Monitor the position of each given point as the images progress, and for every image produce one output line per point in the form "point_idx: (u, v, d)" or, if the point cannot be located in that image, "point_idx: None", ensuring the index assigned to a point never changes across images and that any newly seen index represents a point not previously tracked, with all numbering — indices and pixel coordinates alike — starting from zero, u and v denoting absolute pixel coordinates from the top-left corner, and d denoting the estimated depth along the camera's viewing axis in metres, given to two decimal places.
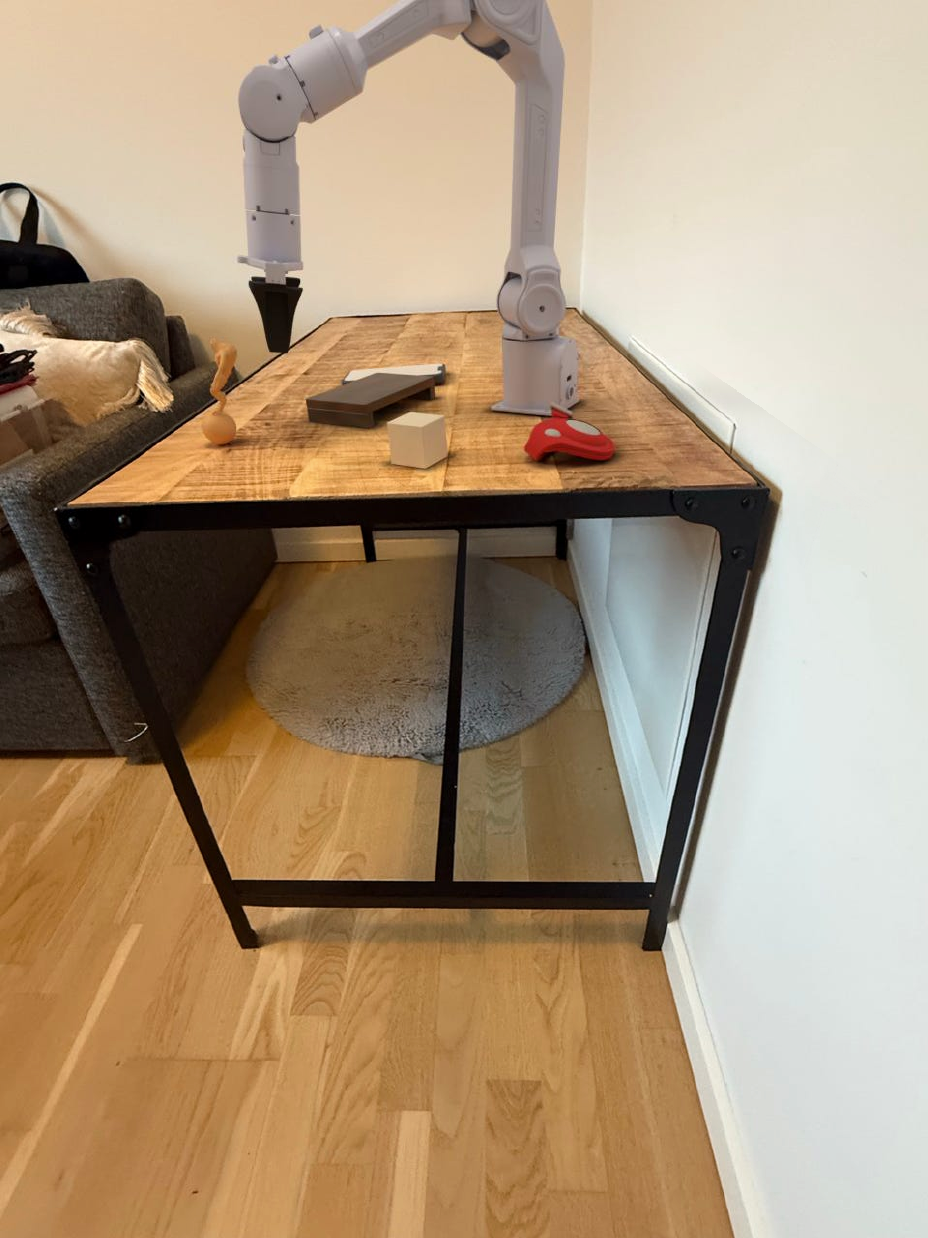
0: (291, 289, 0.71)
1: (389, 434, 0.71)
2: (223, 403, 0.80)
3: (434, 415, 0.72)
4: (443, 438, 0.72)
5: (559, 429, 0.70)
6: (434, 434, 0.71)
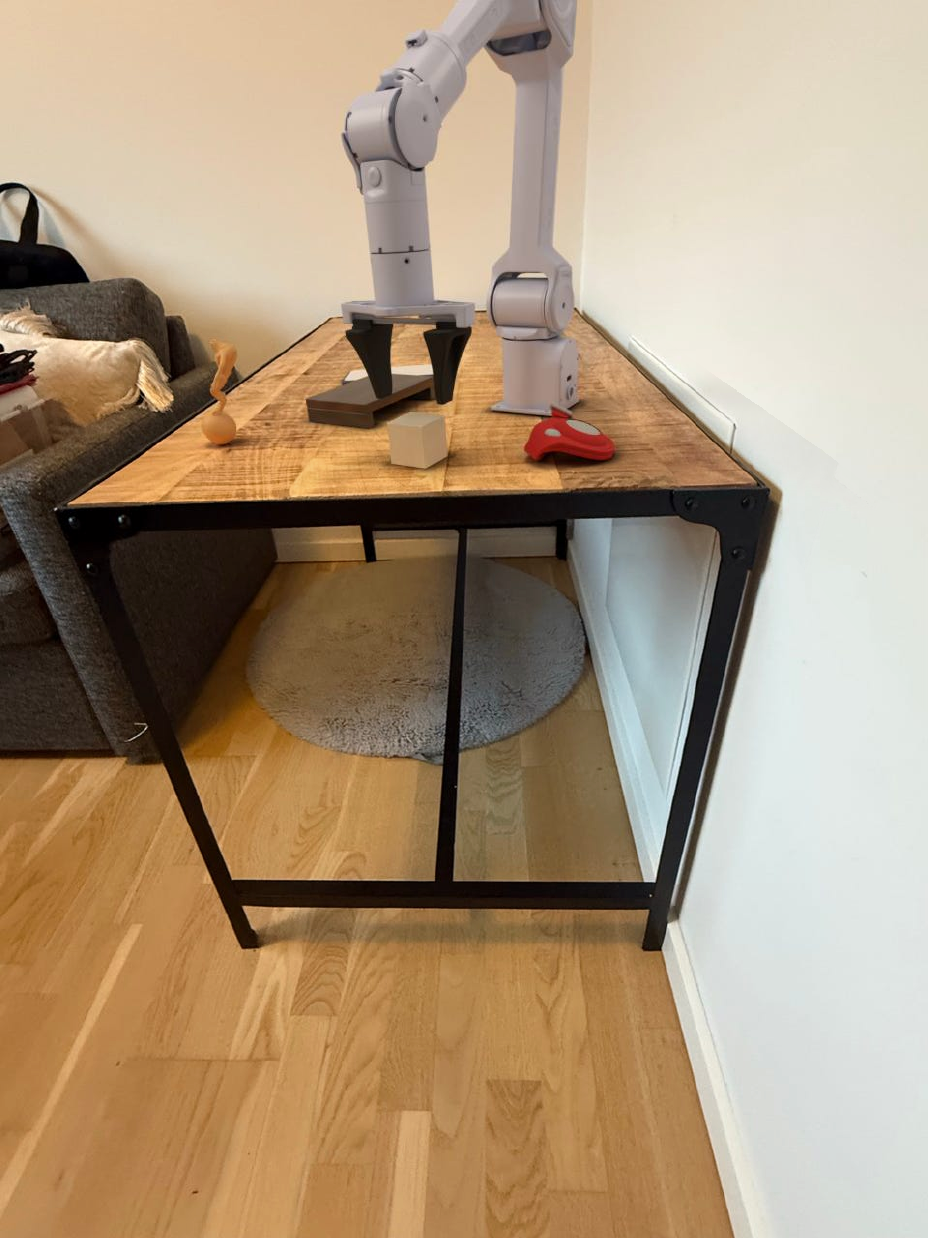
0: (469, 328, 0.65)
1: (389, 434, 0.71)
2: (223, 403, 0.80)
3: (434, 415, 0.72)
4: (443, 438, 0.72)
5: (559, 429, 0.70)
6: (434, 434, 0.71)
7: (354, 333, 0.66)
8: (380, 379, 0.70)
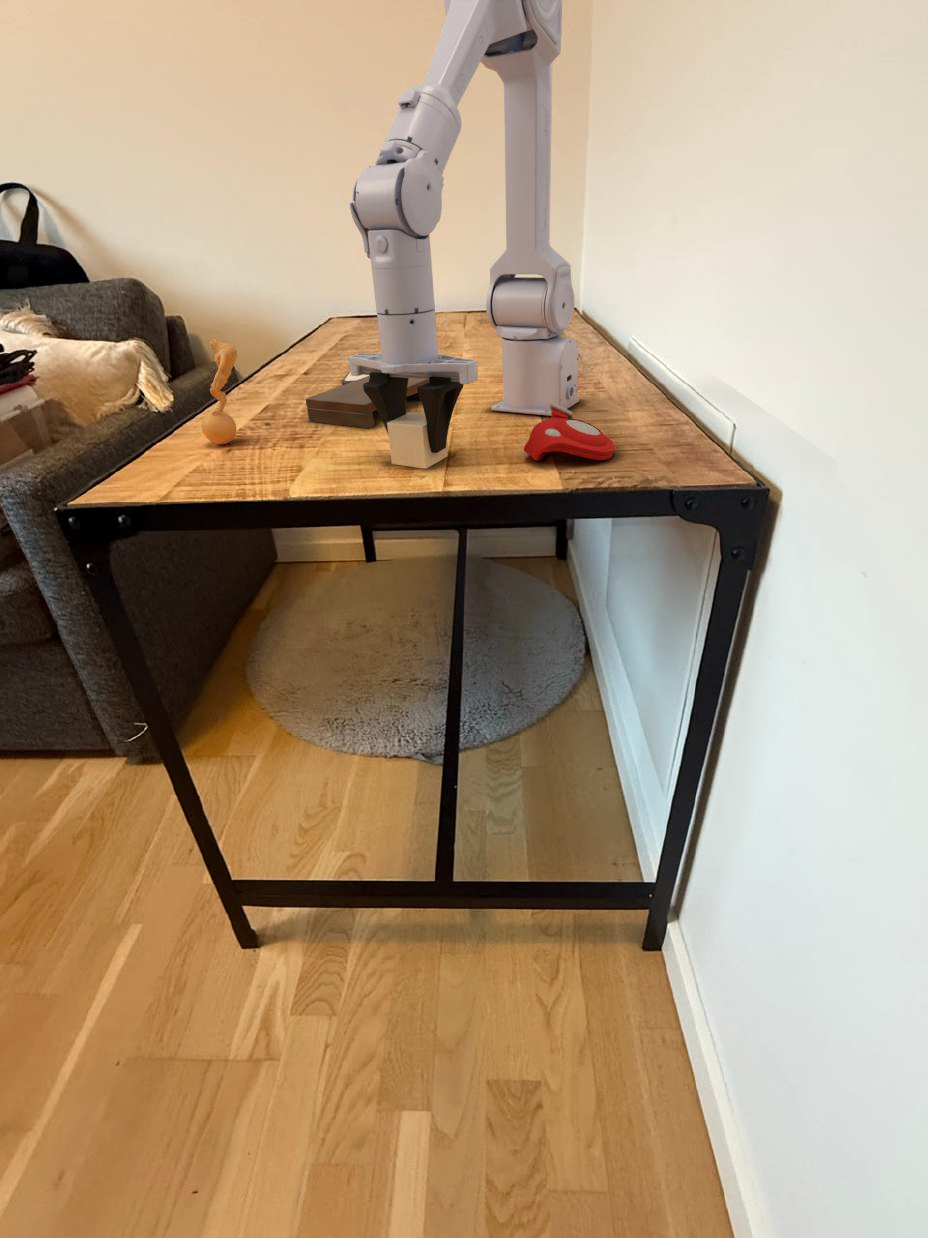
0: None
1: (389, 434, 0.71)
2: (223, 403, 0.80)
3: None
4: None
5: (559, 429, 0.70)
6: None
7: (372, 387, 0.69)
8: None
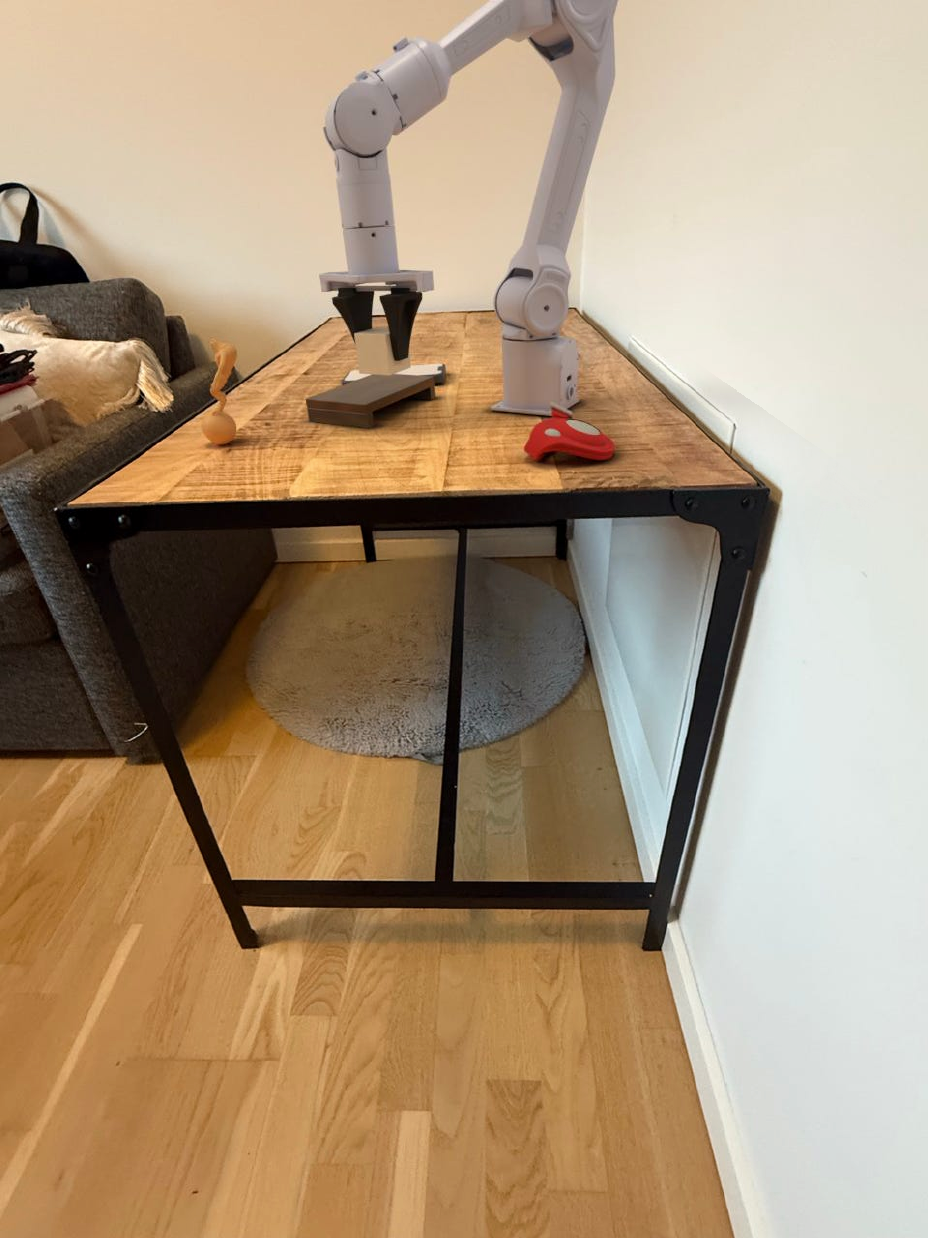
0: (419, 294, 0.76)
1: (356, 344, 0.78)
2: (223, 403, 0.80)
3: None
4: None
5: (559, 429, 0.70)
6: None
7: (339, 299, 0.76)
8: None
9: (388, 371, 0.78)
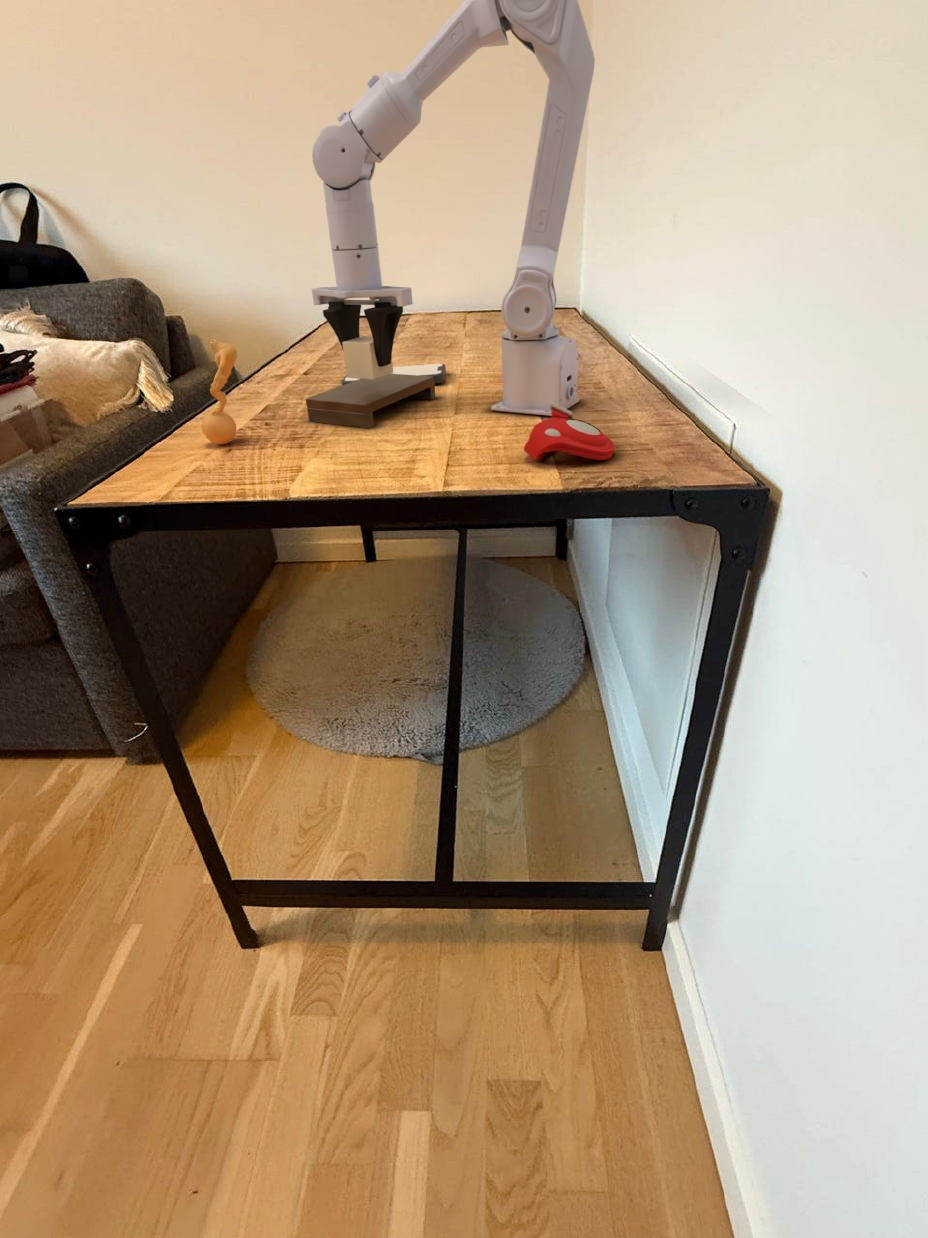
0: (400, 307, 0.85)
1: (344, 351, 0.88)
2: (223, 403, 0.80)
3: None
4: None
5: (559, 429, 0.70)
6: None
7: (329, 312, 0.86)
8: None
9: (372, 376, 0.88)
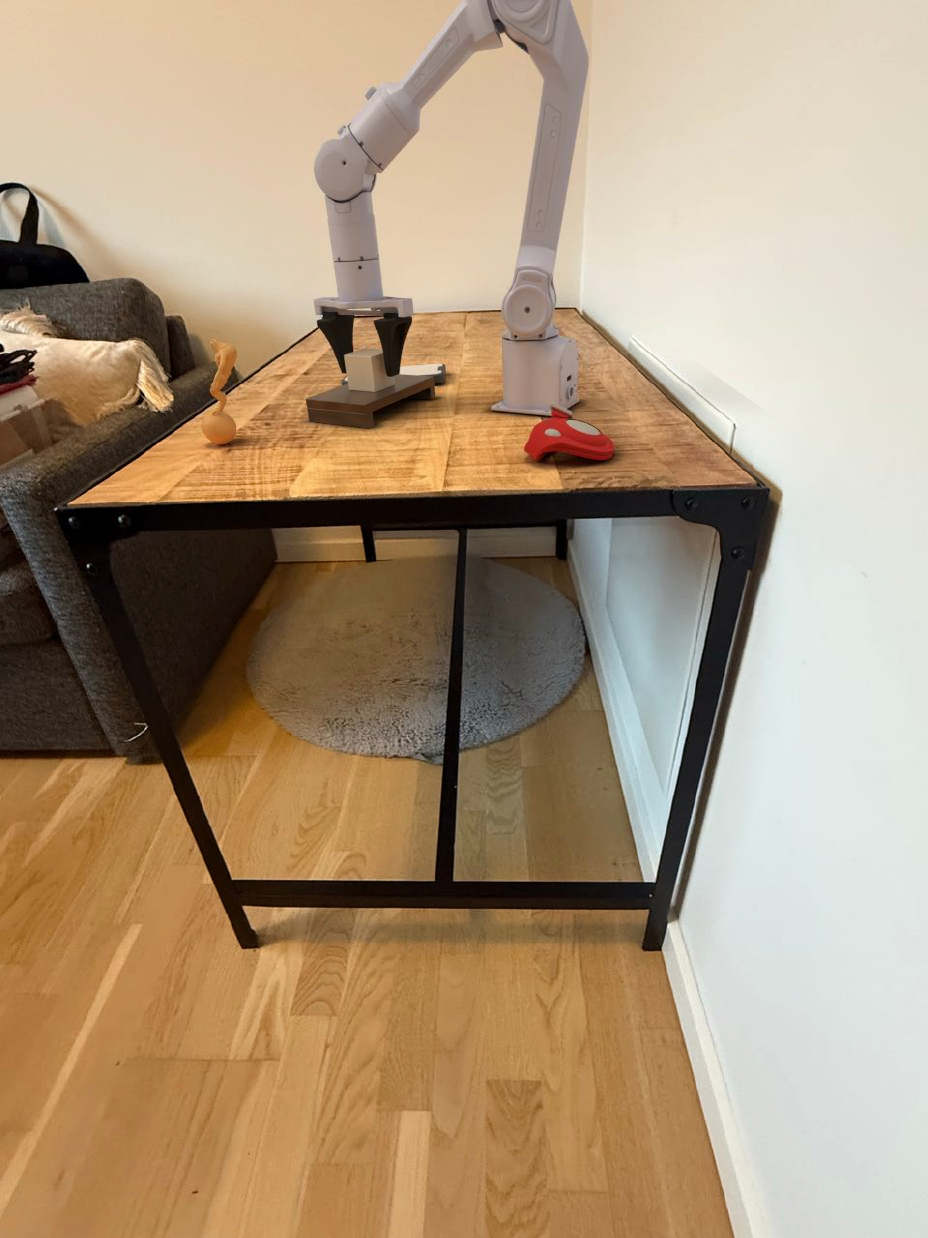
0: (409, 318, 0.85)
1: (346, 364, 0.89)
2: (223, 403, 0.80)
3: None
4: None
5: (559, 429, 0.70)
6: (382, 364, 0.89)
7: (323, 322, 0.87)
8: (344, 358, 0.91)
9: (374, 388, 0.89)
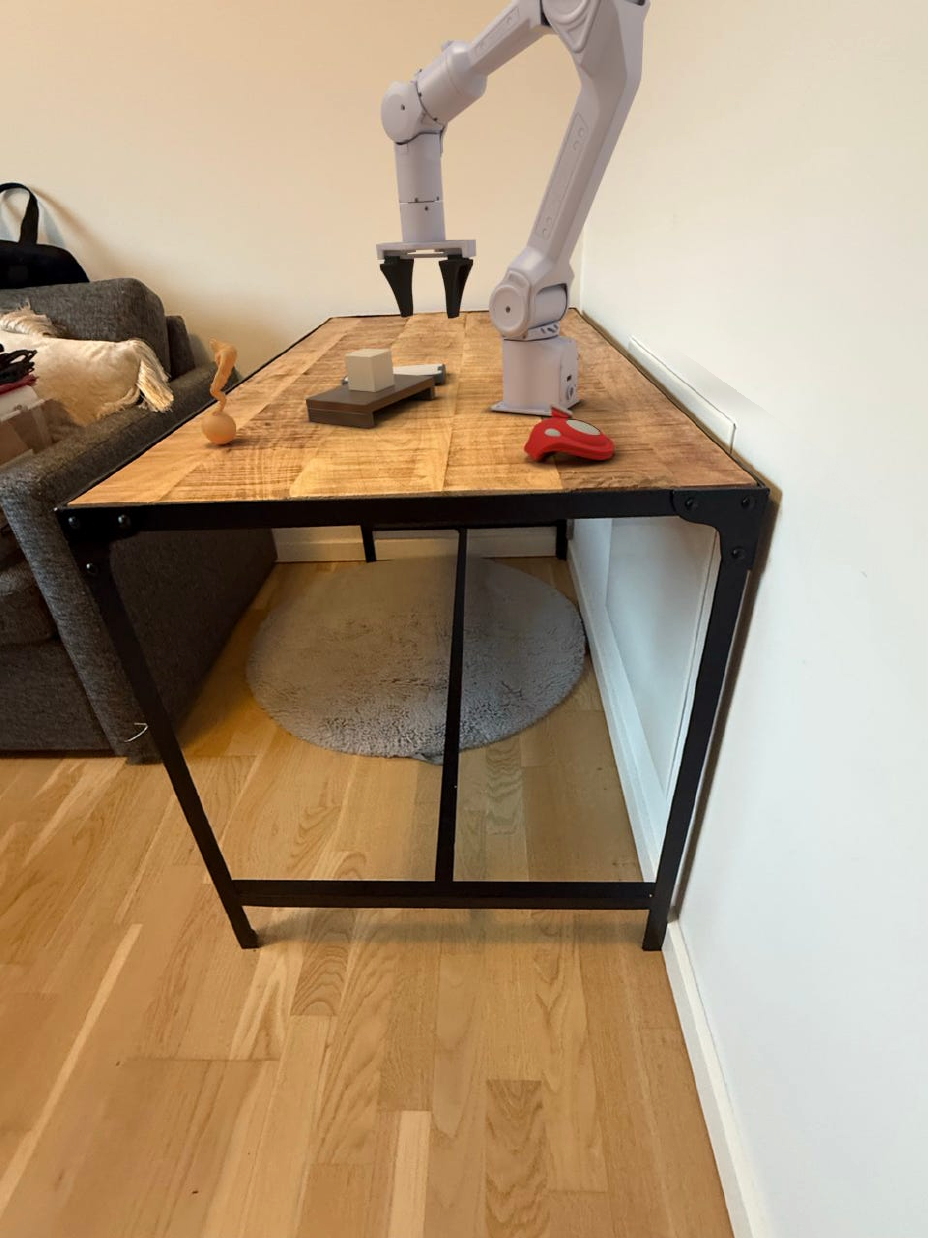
0: (471, 260, 0.88)
1: (346, 364, 0.89)
2: (223, 403, 0.80)
3: (382, 350, 0.90)
4: (390, 369, 0.90)
5: (559, 429, 0.70)
6: (382, 364, 0.89)
7: (386, 265, 0.90)
8: (404, 302, 0.94)
9: (374, 388, 0.89)
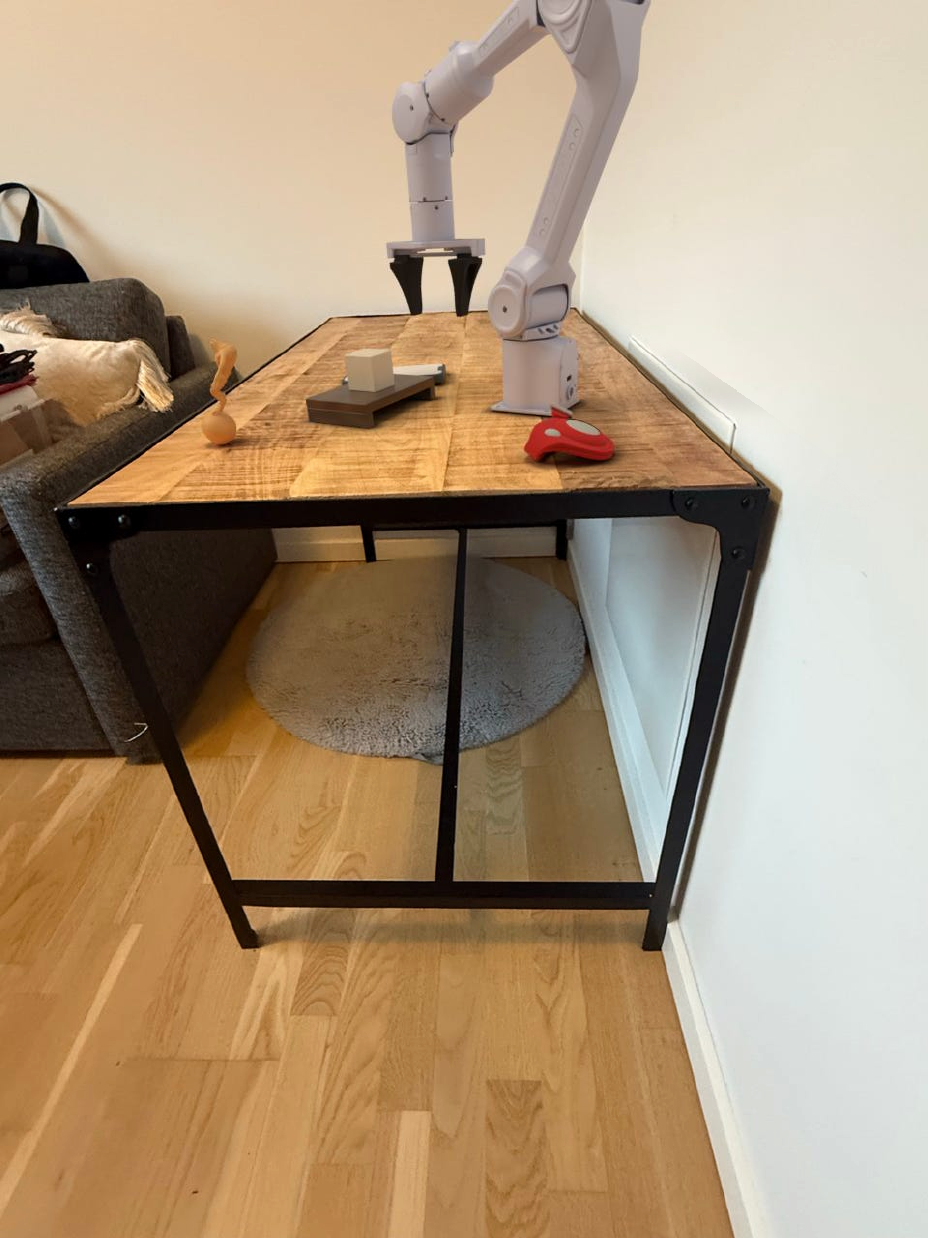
0: (480, 259, 0.89)
1: (346, 364, 0.89)
2: (223, 403, 0.80)
3: (382, 350, 0.90)
4: (390, 369, 0.90)
5: (559, 429, 0.70)
6: (382, 364, 0.89)
7: (396, 263, 0.91)
8: (413, 300, 0.94)
9: (374, 388, 0.89)
